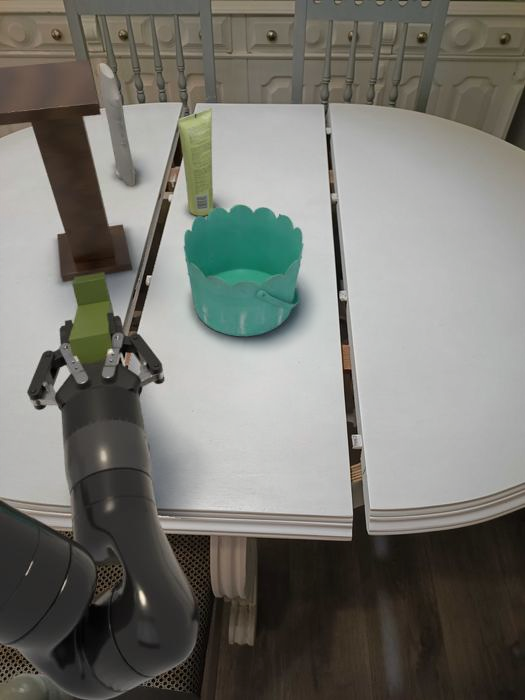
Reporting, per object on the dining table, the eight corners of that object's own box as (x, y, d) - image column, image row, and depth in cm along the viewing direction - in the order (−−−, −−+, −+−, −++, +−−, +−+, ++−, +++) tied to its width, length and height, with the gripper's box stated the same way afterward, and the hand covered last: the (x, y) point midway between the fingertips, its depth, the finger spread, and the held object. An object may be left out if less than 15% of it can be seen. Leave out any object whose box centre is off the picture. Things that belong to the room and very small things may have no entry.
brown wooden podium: (65, 309, 88) (-5, 113, 63) (59, 240, 100) (-2, 53, 75) (138, 295, 90) (98, 102, 66) (124, 230, 102) (85, 46, 78)
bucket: (195, 263, 96) (189, 201, 86) (296, 265, 96) (301, 204, 87) (184, 341, 84) (176, 279, 74) (300, 344, 84) (307, 282, 74)
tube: (191, 200, 109) (183, 104, 95) (216, 202, 109) (211, 106, 94) (186, 216, 106) (177, 119, 91) (211, 218, 105) (206, 121, 91)
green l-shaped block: (75, 366, 55) (61, 311, 53) (84, 318, 75) (74, 277, 73) (114, 358, 56) (101, 304, 54) (113, 313, 75) (104, 272, 73)
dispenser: (110, 164, 118) (88, 58, 101) (128, 161, 119) (109, 55, 102) (123, 189, 111) (102, 80, 95) (142, 184, 113) (124, 76, 96)
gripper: (177, 406, 48) (148, 285, 59) (13, 443, 46) (14, 309, 56) (184, 449, 54) (157, 331, 65) (39, 485, 51) (35, 355, 62)
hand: (90, 322), depth 61 cm, fingers closed on green l-shaped block, 4 cm apart
